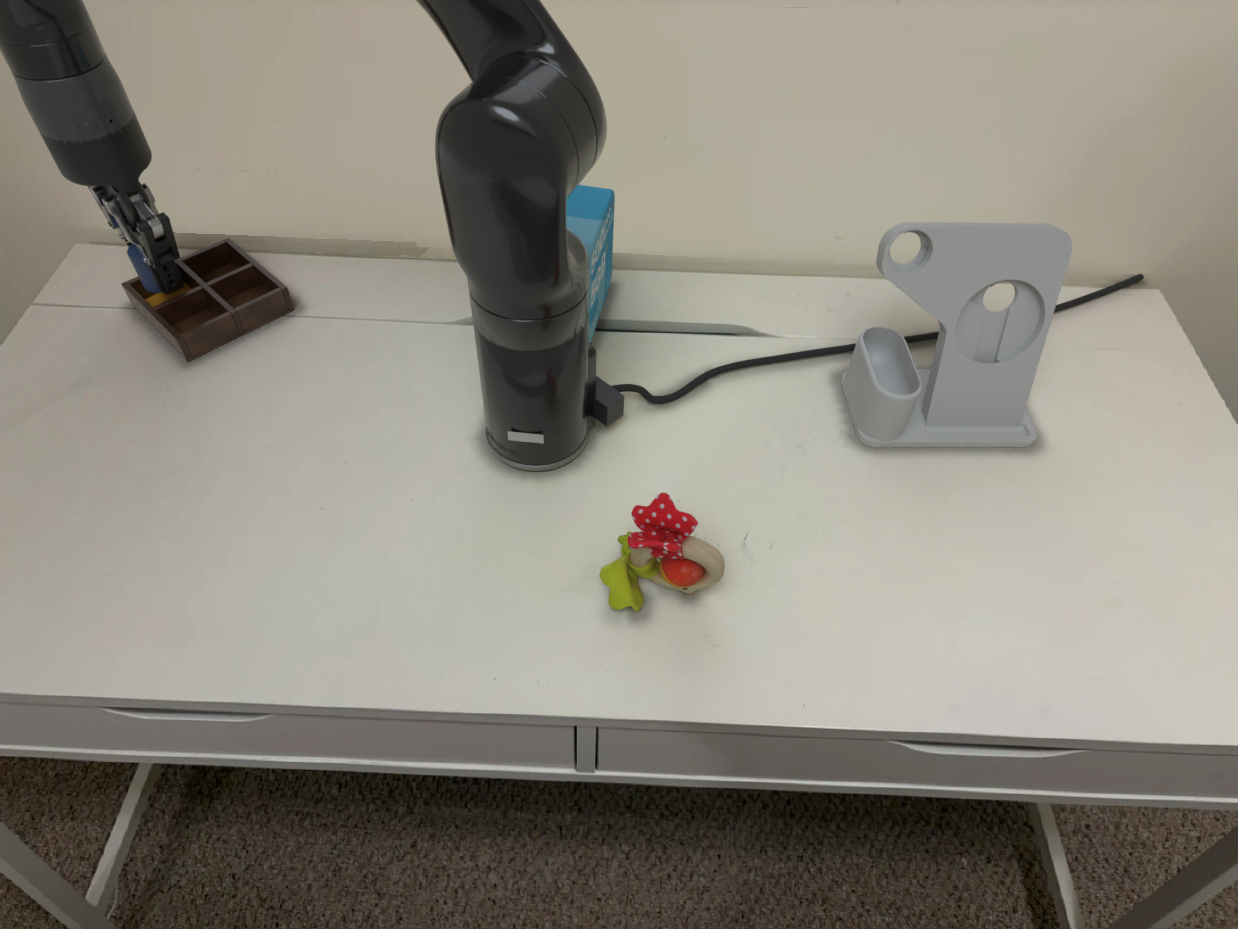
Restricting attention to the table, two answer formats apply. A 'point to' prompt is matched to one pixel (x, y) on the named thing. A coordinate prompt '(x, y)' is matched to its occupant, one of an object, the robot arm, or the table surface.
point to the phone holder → (960, 338)
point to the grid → (212, 300)
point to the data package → (594, 240)
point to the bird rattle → (661, 555)
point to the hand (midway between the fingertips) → (162, 279)
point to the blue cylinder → (143, 269)
